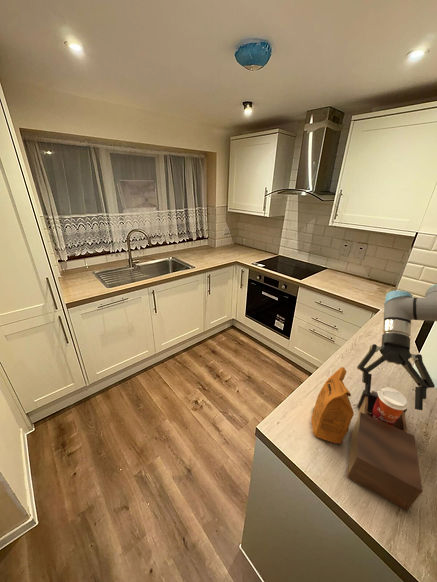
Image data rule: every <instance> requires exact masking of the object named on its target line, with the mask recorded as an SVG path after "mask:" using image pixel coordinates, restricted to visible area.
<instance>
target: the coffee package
mask: <svg viewBox="0 0 437 582" xmlns="http://www.w3.org/2000/svg"><path fill="white" fill-rule="evenodd" d="M346 375H347V370H346V368H345V367H343V366H341V367H339V368H338V369H337V370H336V371H335V372H334V373H333V374H332V375H331V376H330V377H329V378H328V379H327V380H325V382H324V384H323V386H322V387H321V389H320V390H319V393H318V395H317V398H316V400H315V404H314V406H313V409H312V414H311V427H312V432H313V436H314V437H316V438H318V439H320V440H324V441H328V442H330V443H334V444H342V443H343V440H344V438H345V437H346V435H347V434H348V432H349V427H350V425H351V421H352V419H353V417H354V414H355V412H354V409H353V407H352V404H351V401H350V397H352V394H351V392H350V391H349V390H348V388H347V386H346V385H345V383H344V380H345V377H346Z"/></svg>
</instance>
